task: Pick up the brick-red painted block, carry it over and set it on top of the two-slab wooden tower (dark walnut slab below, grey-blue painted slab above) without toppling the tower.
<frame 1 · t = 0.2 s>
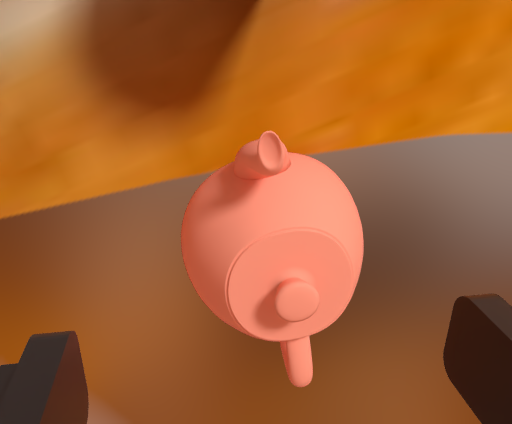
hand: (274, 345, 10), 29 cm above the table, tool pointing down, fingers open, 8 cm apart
teapot: (263, 216, 41), on the table
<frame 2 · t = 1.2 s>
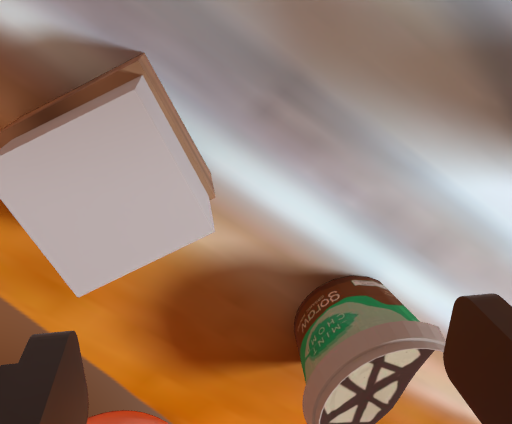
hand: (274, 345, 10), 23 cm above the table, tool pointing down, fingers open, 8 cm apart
top slab: (116, 169, 27), point 5 cm above the table, touching bottom slab
food container: (319, 308, 39), on the table
bottom slab: (120, 145, 31), on the table, touching top slab
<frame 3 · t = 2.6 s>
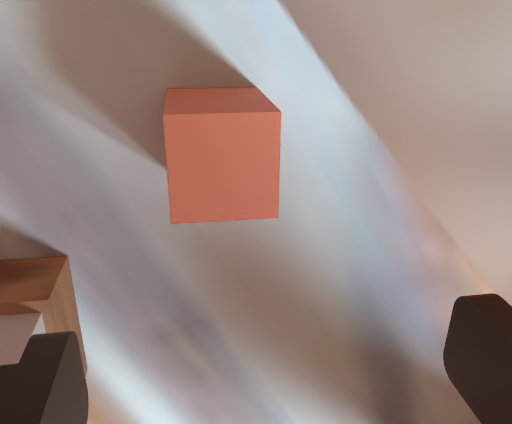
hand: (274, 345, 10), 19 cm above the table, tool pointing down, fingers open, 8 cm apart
red block: (213, 131, 27), on the table
bottom slab: (6, 319, 30), on the table, touching top slab
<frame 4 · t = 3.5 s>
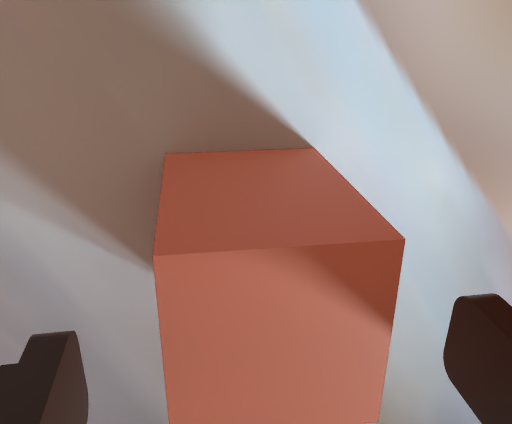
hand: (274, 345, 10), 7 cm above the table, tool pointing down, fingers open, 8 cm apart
red block: (242, 218, 16), on the table
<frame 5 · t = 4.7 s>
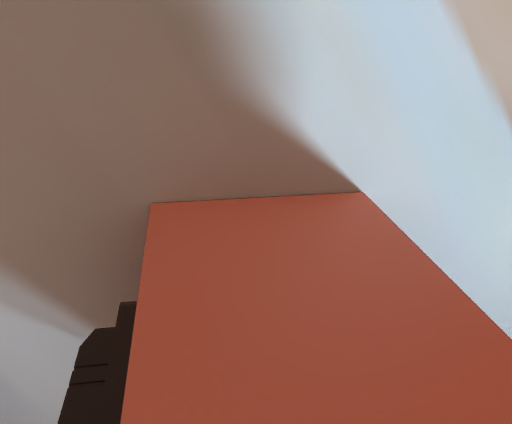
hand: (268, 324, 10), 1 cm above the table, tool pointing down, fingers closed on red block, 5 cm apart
red block: (259, 288, 12), on the table, touching gripper
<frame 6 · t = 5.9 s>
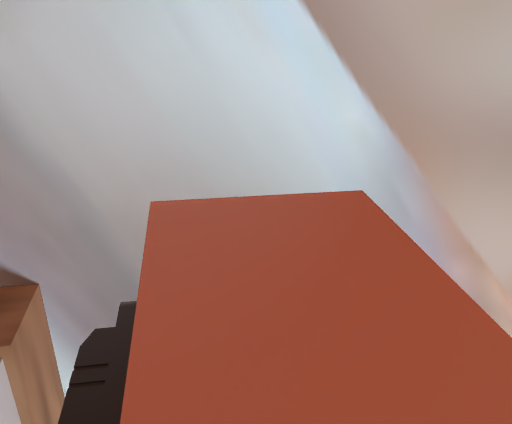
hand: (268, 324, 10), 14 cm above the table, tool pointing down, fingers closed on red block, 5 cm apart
red block: (259, 286, 12), point 12 cm above the table, touching gripper
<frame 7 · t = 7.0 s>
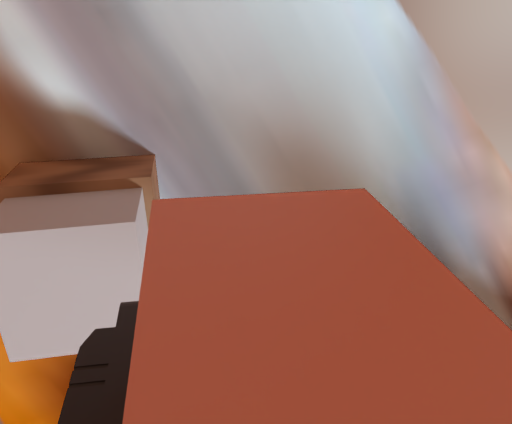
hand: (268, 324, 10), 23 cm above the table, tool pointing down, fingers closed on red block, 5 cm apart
red block: (260, 285, 12), point 22 cm above the table, touching gripper
top slab: (86, 250, 29), point 5 cm above the table, touching bottom slab
bottom slab: (99, 216, 34), on the table, touching top slab
when the fingers open (12 cm above the table, at t = 10.1 s): red block drops 1 cm, resting on top slab.
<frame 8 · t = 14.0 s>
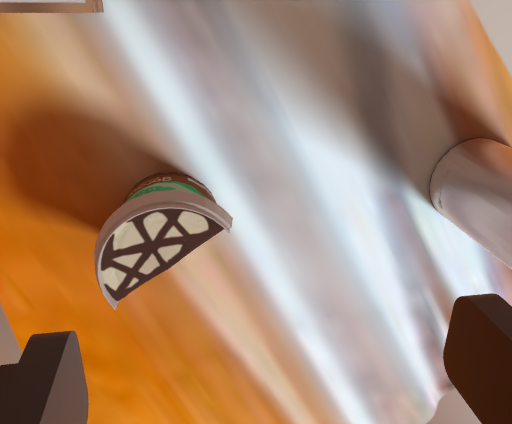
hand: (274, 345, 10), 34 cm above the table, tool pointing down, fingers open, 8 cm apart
food container: (153, 195, 44), on the table
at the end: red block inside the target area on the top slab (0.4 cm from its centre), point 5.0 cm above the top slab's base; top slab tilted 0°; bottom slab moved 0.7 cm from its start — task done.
